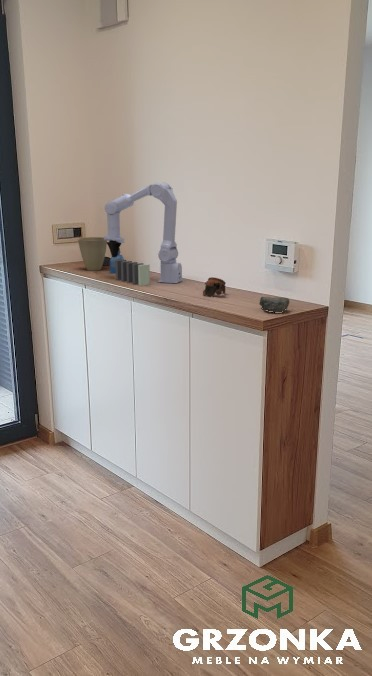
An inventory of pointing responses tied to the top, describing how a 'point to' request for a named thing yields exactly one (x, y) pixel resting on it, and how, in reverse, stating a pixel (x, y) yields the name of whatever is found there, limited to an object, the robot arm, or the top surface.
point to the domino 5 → (144, 274)
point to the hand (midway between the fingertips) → (114, 257)
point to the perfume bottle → (113, 263)
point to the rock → (274, 303)
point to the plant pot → (93, 252)
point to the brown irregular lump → (214, 287)
